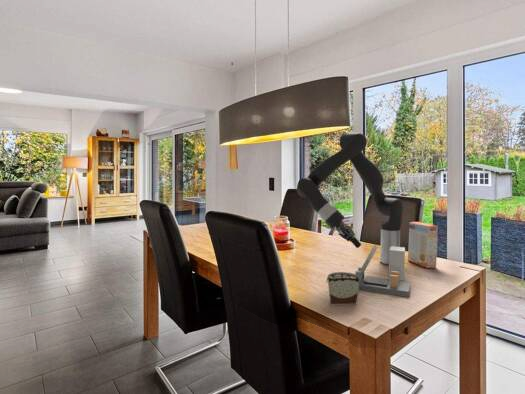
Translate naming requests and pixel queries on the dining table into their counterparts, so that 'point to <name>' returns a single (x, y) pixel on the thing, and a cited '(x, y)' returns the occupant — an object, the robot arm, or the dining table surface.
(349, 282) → the food container
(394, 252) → the small box
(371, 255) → the strap
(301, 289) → the dining table surface
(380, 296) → the dining table surface
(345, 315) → the dining table surface
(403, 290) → the mounting plate
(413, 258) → the cracker box
